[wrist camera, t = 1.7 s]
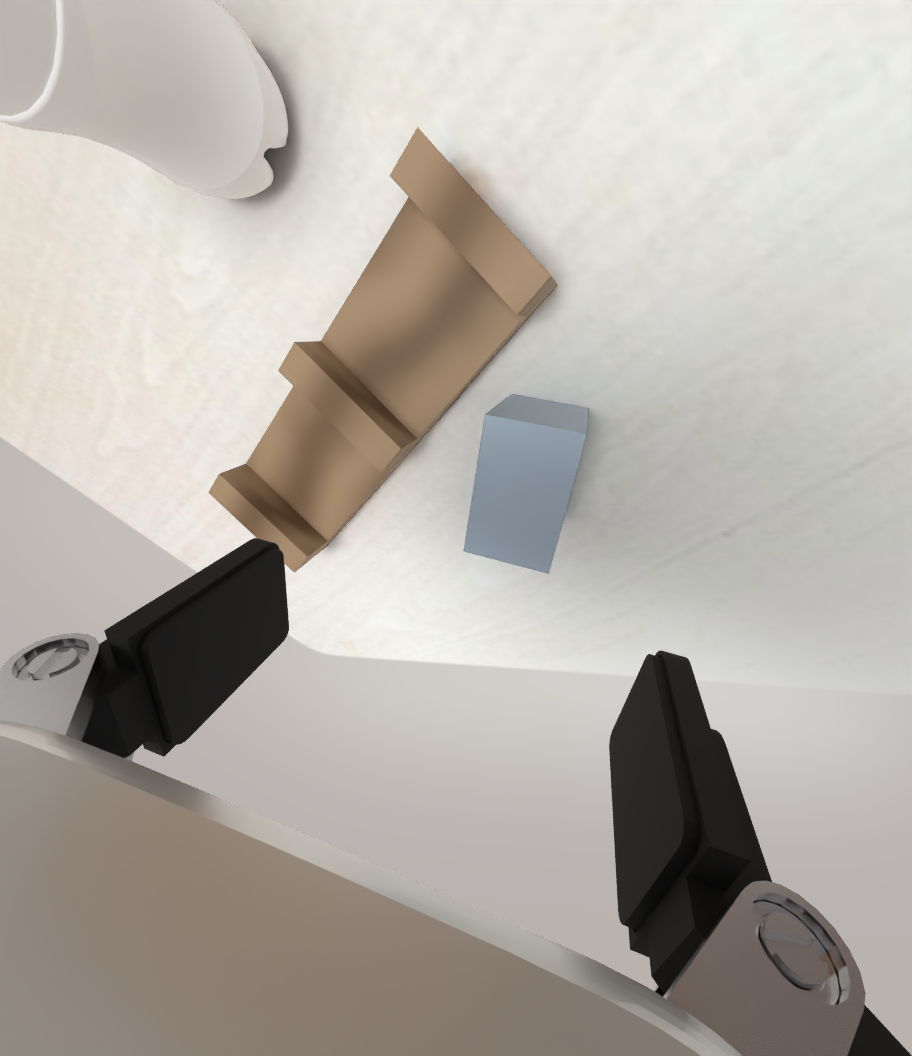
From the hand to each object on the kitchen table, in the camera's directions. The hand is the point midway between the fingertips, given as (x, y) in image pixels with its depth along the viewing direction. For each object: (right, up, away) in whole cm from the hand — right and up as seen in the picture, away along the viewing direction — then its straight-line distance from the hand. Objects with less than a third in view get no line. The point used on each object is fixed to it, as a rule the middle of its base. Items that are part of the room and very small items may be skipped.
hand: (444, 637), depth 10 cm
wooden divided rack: (-5, +11, +16) cm, 20 cm away
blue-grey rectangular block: (+5, +7, +15) cm, 17 cm away
